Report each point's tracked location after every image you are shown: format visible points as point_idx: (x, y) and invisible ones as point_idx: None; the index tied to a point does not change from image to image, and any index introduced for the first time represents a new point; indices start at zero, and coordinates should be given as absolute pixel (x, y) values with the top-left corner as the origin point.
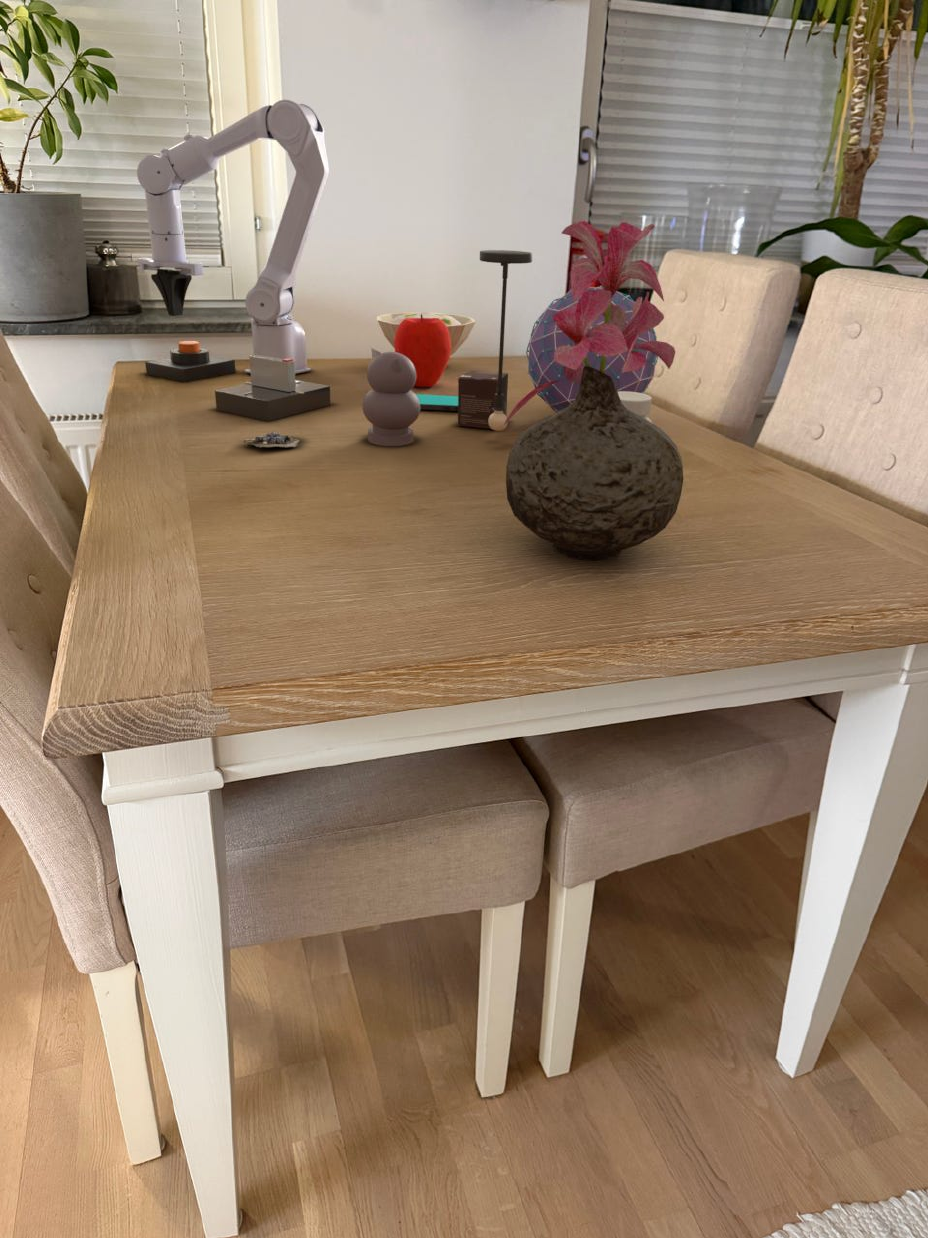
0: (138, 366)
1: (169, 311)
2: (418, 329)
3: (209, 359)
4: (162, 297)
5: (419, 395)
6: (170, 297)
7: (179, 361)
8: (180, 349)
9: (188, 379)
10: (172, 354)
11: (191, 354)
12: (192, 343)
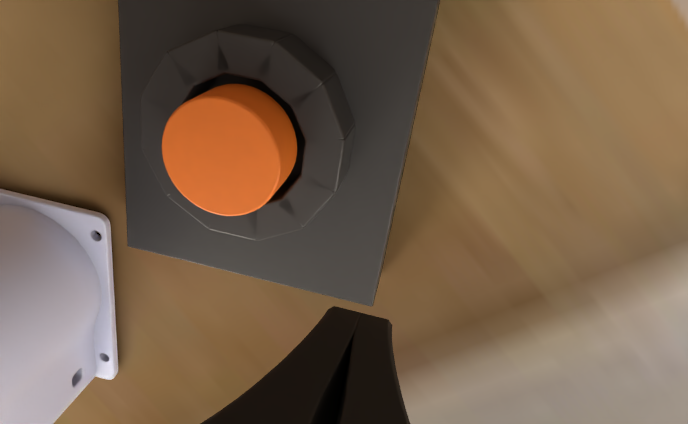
0: (632, 124)
1: (362, 325)
2: None
3: None
4: (405, 415)
5: None
6: (265, 384)
7: (235, 25)
8: (244, 90)
9: None
10: (275, 39)
11: (160, 65)
12: (177, 141)
